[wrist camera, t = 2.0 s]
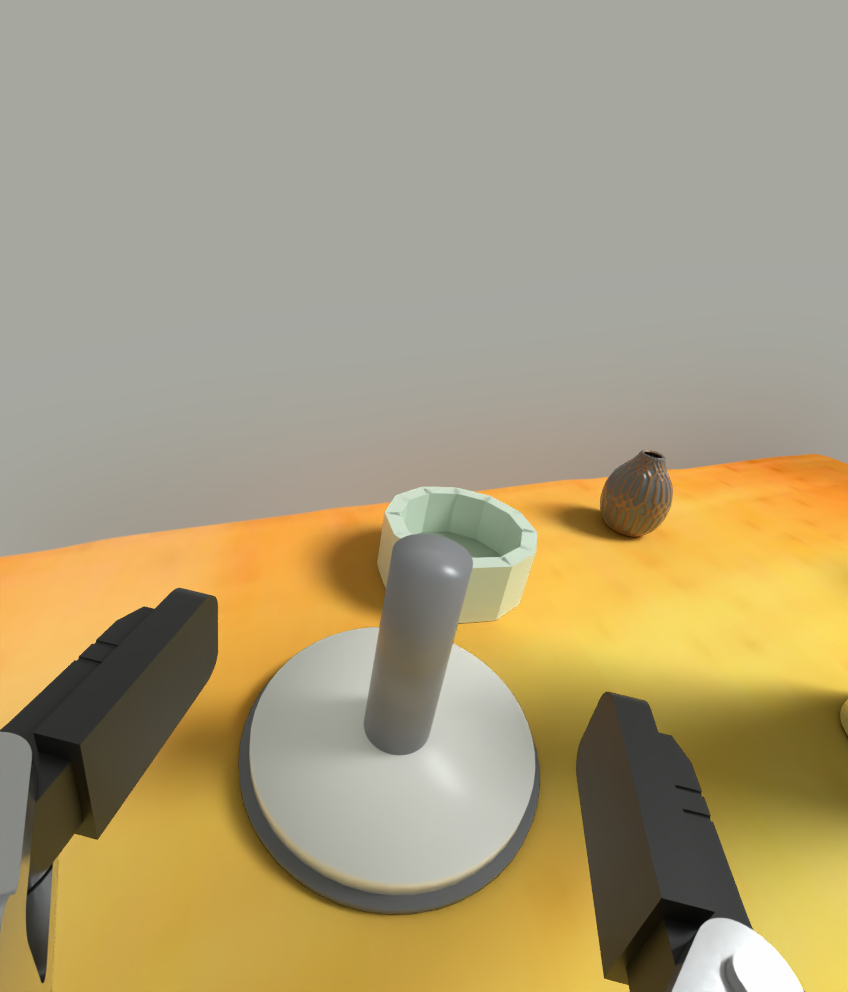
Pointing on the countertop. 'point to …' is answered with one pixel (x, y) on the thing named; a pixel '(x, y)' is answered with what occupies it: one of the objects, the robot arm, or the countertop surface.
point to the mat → (361, 898)
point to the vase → (637, 495)
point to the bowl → (468, 543)
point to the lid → (395, 741)
